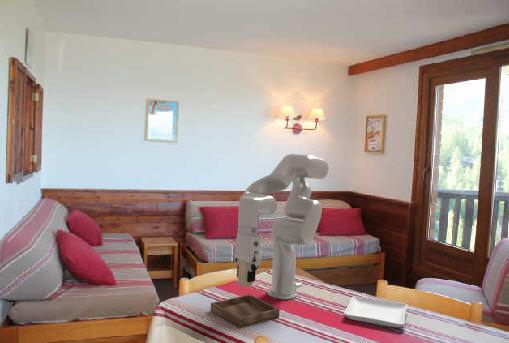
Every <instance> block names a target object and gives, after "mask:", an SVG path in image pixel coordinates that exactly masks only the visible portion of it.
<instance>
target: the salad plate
mask: <svg viewBox="0 0 509 343" xmlns="http://www.w3.org/2000/svg"><path fill="white" fill-rule="evenodd" d="M408 307H409V305H408V304H407V303H402V302H395V301H390V300H385V299H378V298H372V297H371V298H370V297H364V296H358V295H353V296H352V297H351V299H350V301H349V303H348V305H347V307H346V308H345V309H344V312H343V315H344V316H345V317H346V318H348V319H349V320H354V321H357V322H362V323H368V324H372V325H378V326H384V327H390V328H400V327H404V325H405V323H406V314H407V310H408Z"/></svg>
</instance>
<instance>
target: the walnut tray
mask: <svg viewBox="0 0 509 343" xmlns="http://www.w3.org/2000/svg"><path fill="white" fill-rule="evenodd" d="M210 312H211V313H213V314H215V315H217V316H218V317H220V318H222V319H224V320H225V321H227V322H228V323H231V325H233V326H235V327H237V328H238V329H241V328H246V327H249V326H251V325H255V324H260V323H263V322H266V321H270V320H274V319H276V318H279V317H280V308H278V307H276V306H275V305H272V304H270V303H268V302H266V301H264V300H263V299H260V298H258V297H257V296H254V295H252V294H250V293H249V294H245V295H240V296H239V295H238V296H235V297H231V298H227V299H223V300H218V301H214V302H210Z"/></svg>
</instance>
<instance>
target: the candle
mask: <svg viewBox="0 0 509 343" xmlns="http://www.w3.org/2000/svg"><path fill="white" fill-rule="evenodd" d="M252 262H253V261H252ZM251 266H253V264H251ZM248 271H249V267H248V263H247V262H245V261H243V260H239V271H238V277H237V285H238V286H240V287H251V286H253V285H254V281H253V282H247V275H248Z"/></svg>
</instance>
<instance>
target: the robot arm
mask: <svg viewBox="0 0 509 343" xmlns="http://www.w3.org/2000/svg"><path fill="white" fill-rule="evenodd" d="M328 174H329V164H328V162H327V161H326V160H325V159H323V158H320V157H318V156H317V157H316V156H313V155H310V154H298V153H297V154H295V153H292V154H291V153H289V154H287V155H285V156H283V158H282V159H281V161H280V162H279V163H278V164H277V165H276V167H275V168H274V169H273V170H272V172H271V173H270V174H268V175H265V176H264V177H261V178H259V179H257V180H256V181H254V182H252V183H250V184H249V185H248V187H247V188H246V189H245V190H244V192H243V193H242V195H241V197H240V198H239V202H238V222H237V235H236V240H235V247H234V249H235V250H234V252H233V254H232V255H233V258H234V259H235V263H236V265H235V266H236V277H237V278H238V271H239V260H243V261H245V262H247V263H248V267H249V271H248V275H247V282H253V283H254V282H255V281H256V273H257V272H256V271H257V270H258V268H259V267H260V266H261V265H262V262H261V258H262V257H261V255H262V254H261V252H262V251H261V249H262V248H261V238H260V237H261V236H260V234H259V229H260V228H259V227H260V216H270V215H273V214H274V213H275V212H276V210H277V207H278V202H277V200H276V198H275V197H273V196H271V195H268V194H272V193H279V192H282V191H285V190H286V189H287V188H289V186H290V185H291V183H292V188H291V191H290V193H289V195H288V198H287V200H286V202H285V206H284V208H283V215H284V216H285V217H286V218H287V219H286V218H280V219H277V220H275V221H274V222H273V223H272V226H271V237H272V244H273V245H272V246H273V247H272V248H273V250H272V269H271V270H272V272H271V287H270V288H268V289H267V295H268V296H269V297H271V298H274V299H278V300H291V299H295V298H297V297H298V295H299V294H298V290H297V289H299V288H302V287H303V282H297V283H296V281H295V279H296V265H297V264H296V261H297V252H296V251H297V250H296V249H295V245H296V246H300V247H307V246H309V245H310V244H311V243H312V241H313V240H314V237H315V235H316V231H317V229H318V226H319V224H320V221H321V217H322V213H323V212H322V210H323V209H322V204H321V203H320V202H319V201H318V200H316V199H310V198H311V196H312V187H311V185H310V183H309V181H308V180H307V179H315V180H323V179H325V178H326V177H327V176H328ZM252 261H253V262H252ZM251 264H253V266H251Z"/></svg>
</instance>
